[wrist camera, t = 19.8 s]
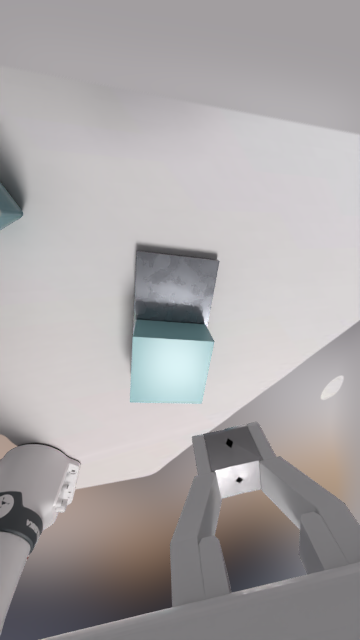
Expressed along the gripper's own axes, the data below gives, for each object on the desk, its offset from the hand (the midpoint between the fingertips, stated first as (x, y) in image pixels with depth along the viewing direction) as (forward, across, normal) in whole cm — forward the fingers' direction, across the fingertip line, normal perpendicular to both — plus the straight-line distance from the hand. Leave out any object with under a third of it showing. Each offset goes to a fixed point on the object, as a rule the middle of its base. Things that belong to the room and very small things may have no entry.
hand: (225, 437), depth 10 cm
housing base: (+29, +2, +7) cm, 30 cm away
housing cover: (+27, +4, +11) cm, 30 cm away
